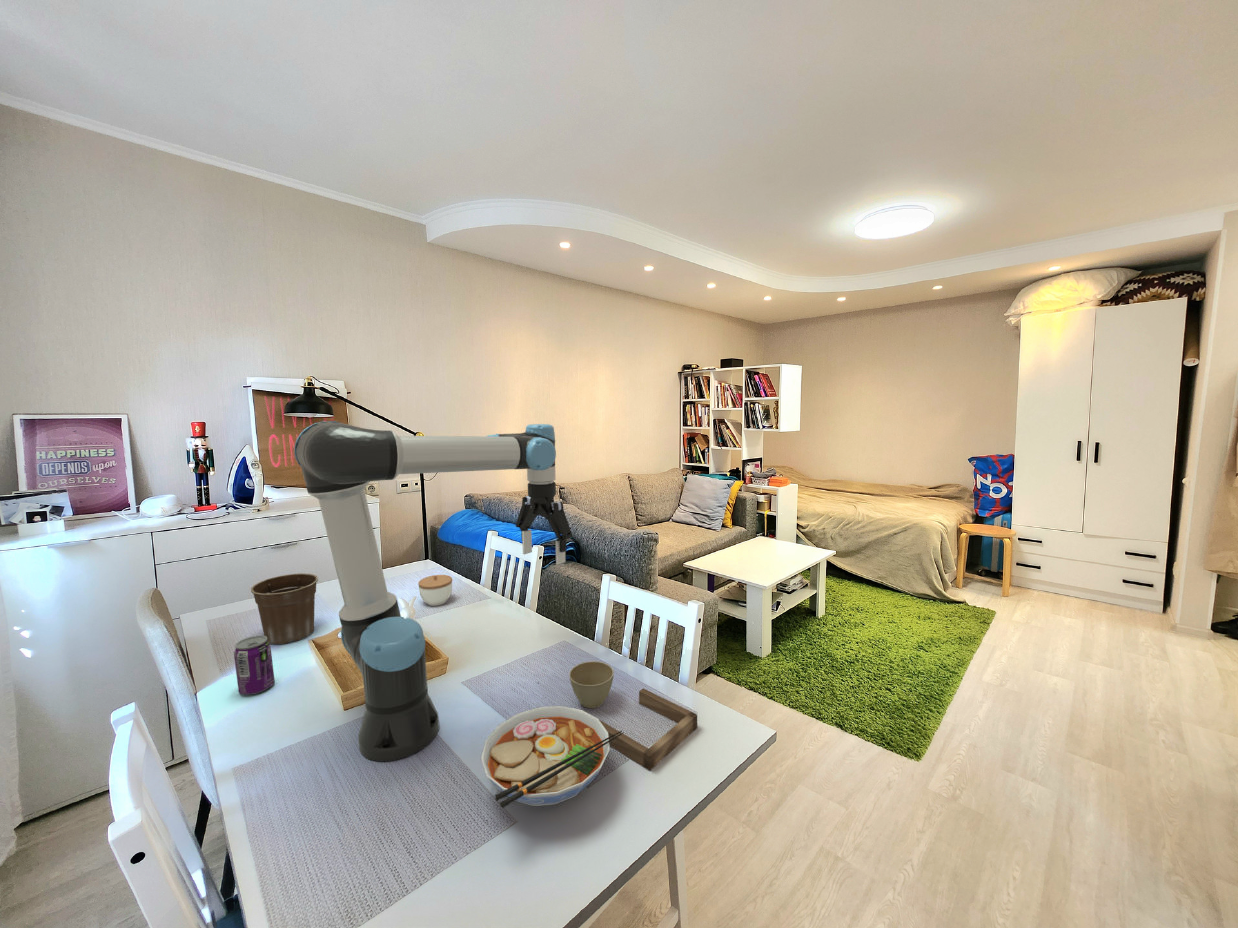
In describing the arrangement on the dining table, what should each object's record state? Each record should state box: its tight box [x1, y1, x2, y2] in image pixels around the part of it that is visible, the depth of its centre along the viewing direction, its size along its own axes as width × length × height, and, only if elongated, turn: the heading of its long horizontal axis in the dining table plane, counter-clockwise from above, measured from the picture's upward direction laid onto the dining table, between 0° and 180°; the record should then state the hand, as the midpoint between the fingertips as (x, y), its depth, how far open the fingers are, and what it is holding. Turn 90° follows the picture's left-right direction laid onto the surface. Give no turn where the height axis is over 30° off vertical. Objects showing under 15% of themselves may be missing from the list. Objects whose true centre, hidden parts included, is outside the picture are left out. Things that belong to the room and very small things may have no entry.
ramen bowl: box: [480, 705, 625, 809], centre depth 90 cm, size 25×23×8 cm
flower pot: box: [568, 660, 615, 709], centre depth 114 cm, size 10×10×7 cm
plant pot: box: [250, 572, 319, 645], centre depth 147 cm, size 16×16×16 cm
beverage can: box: [233, 635, 276, 695], centre depth 120 cm, size 7×7×12 cm
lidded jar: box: [417, 574, 453, 607], centre depth 170 cm, size 11×11×9 cm
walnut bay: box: [599, 687, 698, 771], centre depth 104 cm, size 16×14×3 cm
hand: (543, 558), depth 138 cm, fingers open, 13 cm apart
